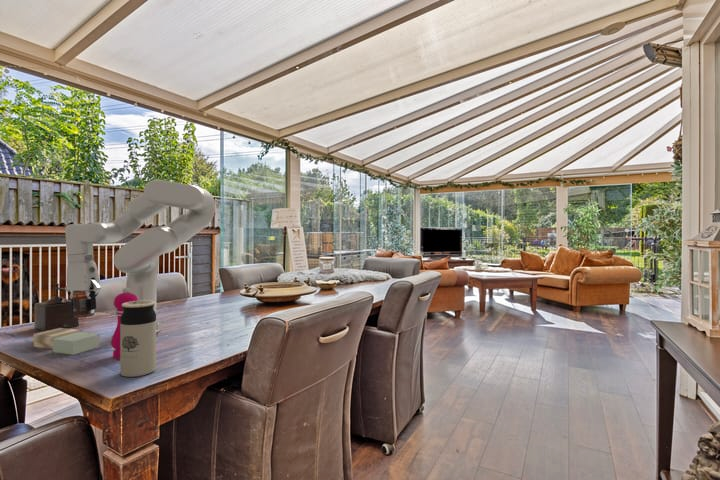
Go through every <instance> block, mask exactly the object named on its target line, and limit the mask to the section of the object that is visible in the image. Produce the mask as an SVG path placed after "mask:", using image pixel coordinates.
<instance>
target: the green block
mask: <svg viewBox="0 0 720 480" xmlns="http://www.w3.org/2000/svg"><path fill="white" fill-rule="evenodd" d="M99 347H100V334H99V333H91V332H82V331H79V332H78V333H74V334H70V335H66V336H62V337H58V338H54V339H53V349H52V353H55V354H63V355H65V354H66V355H72V356H75V355H77V354H81V353H83V352H88V351H90V350H93V349H94V350H95V349H97V348H99Z"/></svg>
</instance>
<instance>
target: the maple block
mask: <svg viewBox="0 0 720 480" xmlns="http://www.w3.org/2000/svg"><path fill="white" fill-rule="evenodd" d="M78 332H80V330H79V329H72V328H58V329H53V330H49V331H40V332H37V333H33V347H34V348H40V349H49V350H53V339H54V338H58V337H62V336H66V335H70V334H74V333H78Z"/></svg>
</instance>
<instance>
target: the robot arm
mask: <svg viewBox="0 0 720 480" xmlns="http://www.w3.org/2000/svg"><path fill="white" fill-rule="evenodd" d="M169 207H170V208H171V207H172V208H176V209H177V208H178V209H183V210H184V209H185V210H187V211H186V212H184V213H183V214H181V215H179V216H178V217H176V218H175V219H174V220H172V221H171V222H169V223H168V224H166V225H163V226H160V225H159V226H153V227H150V228H148V229H145V230H144V231H143V232H141V233H140V234H138V235H137V236H135V237H133V238H132V239H131V240H129V241H128V242H126V243H125V244H124V245H122V246H121V247H120V248H119V249H117V251H115V254H114V257H113V264H114V266H115V268H116V269H117V270H118V271H120V272H121V273H125V274H127V277H126V283H125V284H126V285H125V288H129V290H130V291H129V293H132V294H134V295H136V296H137V298H138V301H142V300H149V301H154V302H155V304H154V308H153V310H154V311H155V313H156V314H157V300H158V299H157V291H158V290H157V289H158V269H159V264H160V256H162V255H163V254H169V253H172V252H175V251H176V250H177V249H178V248H179V247H181V246H182V245H183V244H185V243H186V242H188V241H189V240H190V239H192V238H193V237H194V236H196V235H197V234H198V233H200V232H201V231H202V230H203V229H205V228H207V226H208V225H209V224H210V223H211V221H212V220H213V218H214V216H215V212H216V203H215V198H214V196H213V195H212V193H210V192H209V191H208V190H207V189H204V188H202V187H200V186H197V185H192V184H188V183H187V184H186V183H181V182H176V181H169V180H165V179H164V180H163V179H159V178H158V179H151V180H150V181H147V183H146V184H145V186H144V188H143V193H140V195H138V196H136V197H134V198H133V199H131V200H129V201H128V202H127V210H126V211H125V212H124V213H123V214H122V215H120V216H119V217H117V218H116V219H114V220H112V221H110V222H96V221H95V222H91V223H72V224H68V225H66V226H65V232H64V234H65V244H66V245H65V246H66V247H65V248H66V259H67V262H66V263H67V266H66V286H65V287H64V289H65V290H66V291H65V292H66V293H67V295H68V296H69V300H70V301H71V303H72V310H74V308H73V293H74V292H75V291H85V294H86V296H87V299H86V310H87V311H89V310H96V309H97V298H98V294H99V292H100V291H101V289H102V286H100V285H101V283H100V282H101V281H100V275H99V270H98V266H97V263H96V262H95V258H94V255H95V254H94V244H97V245H101V244H103V245H104V244H115V243H117V242H120V241H122V240H123V239H125V238H127V237H129V236H130V235H132V234H133V233H134V232H136V231H137V230H138V229H140V228H141V227H142V226H143V225H144V224H145V222H146V221H148V220H150V219H152V218H154V216H157V215H158V214H159V213H161V212H163V211H164V210H166V209H167V208H169ZM89 289H90V290H89ZM89 292H91V294H90V293H89ZM159 320H160V318H156V334H157V333H159V332H161V331H162V328H163V327H164V325H165V323H163V322H160V321H159Z"/></svg>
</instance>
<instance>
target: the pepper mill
mask: <svg viewBox="0 0 720 480" xmlns="http://www.w3.org/2000/svg"><path fill="white" fill-rule="evenodd" d="M129 291H130V290H129V288H126V287H124V288H122V293H119V294H118V295H116V296H115V298H114V300H113V306H114V307H115V308H116V310H115V312H116V314H115V316H116V317H117V325H116V327H115V330H114V331H113V334H112V336H111V341H110V346H111V347H112V348H114V350H113V351H112V358H113V359H115V360H120V317H121V315H122V314H123V312H124V310H123V306H122V304H123V303H126V302H131V301H138V298H137V296H136V295H134V294H132V293H129Z"/></svg>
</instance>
